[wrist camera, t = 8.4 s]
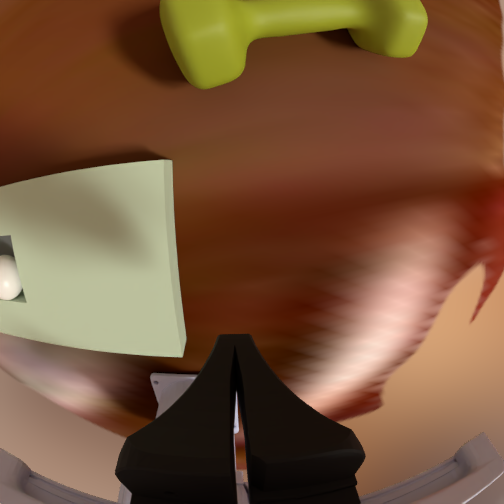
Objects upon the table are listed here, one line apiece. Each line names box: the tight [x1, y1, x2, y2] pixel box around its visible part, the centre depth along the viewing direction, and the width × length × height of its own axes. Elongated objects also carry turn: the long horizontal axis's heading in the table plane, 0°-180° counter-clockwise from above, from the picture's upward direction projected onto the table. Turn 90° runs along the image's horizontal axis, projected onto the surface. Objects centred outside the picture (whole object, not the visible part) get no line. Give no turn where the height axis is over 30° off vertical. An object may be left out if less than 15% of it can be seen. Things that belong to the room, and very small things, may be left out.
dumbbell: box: [160, 0, 428, 89], centre depth 12 cm, size 16×8×7 cm, turn 107°
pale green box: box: [0, 160, 186, 357], centre depth 14 cm, size 14×24×10 cm, turn 90°
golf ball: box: [0, 255, 22, 300], centre depth 16 cm, size 4×4×4 cm
